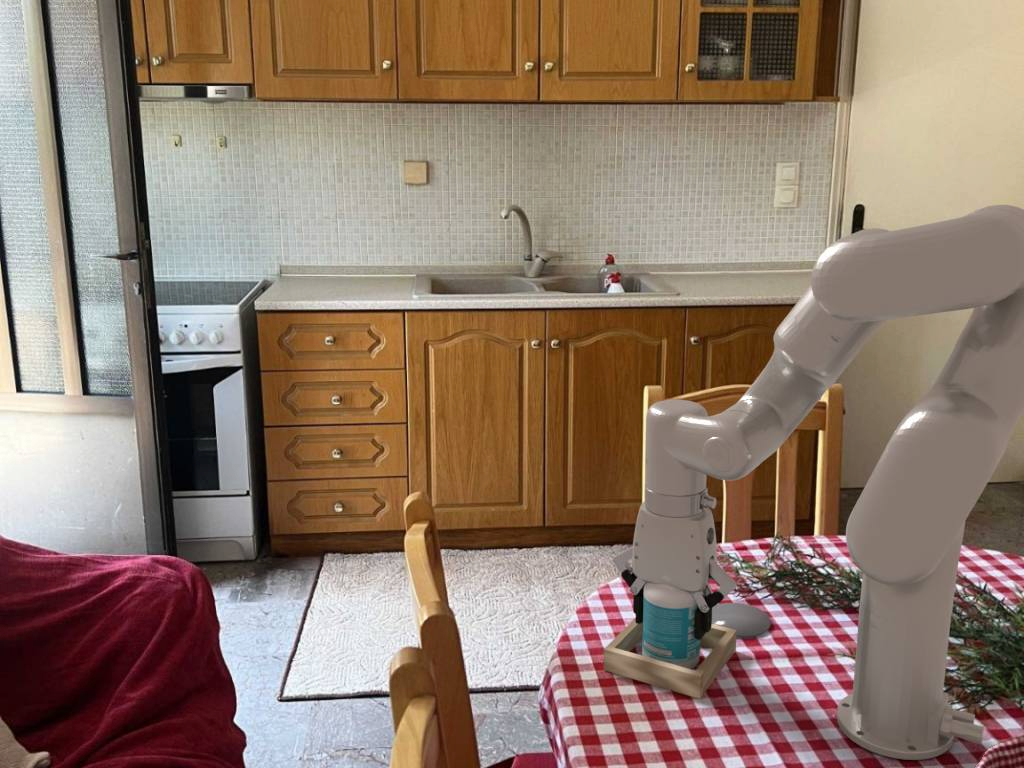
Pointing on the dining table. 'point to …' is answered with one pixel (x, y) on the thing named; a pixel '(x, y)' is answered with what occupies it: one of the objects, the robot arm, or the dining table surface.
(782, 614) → the dining table surface
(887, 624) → the robot arm
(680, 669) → the wooden frame
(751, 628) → the stone
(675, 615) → the pill bottle
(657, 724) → the dining table surface
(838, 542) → the dining table surface
